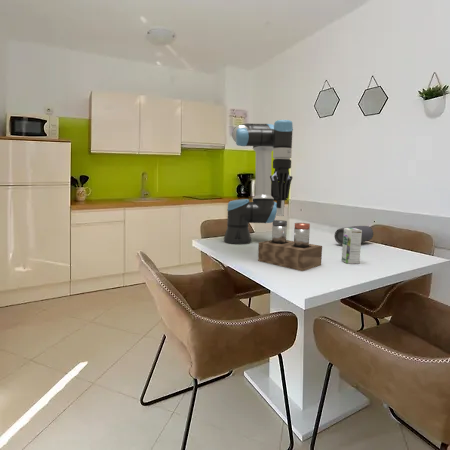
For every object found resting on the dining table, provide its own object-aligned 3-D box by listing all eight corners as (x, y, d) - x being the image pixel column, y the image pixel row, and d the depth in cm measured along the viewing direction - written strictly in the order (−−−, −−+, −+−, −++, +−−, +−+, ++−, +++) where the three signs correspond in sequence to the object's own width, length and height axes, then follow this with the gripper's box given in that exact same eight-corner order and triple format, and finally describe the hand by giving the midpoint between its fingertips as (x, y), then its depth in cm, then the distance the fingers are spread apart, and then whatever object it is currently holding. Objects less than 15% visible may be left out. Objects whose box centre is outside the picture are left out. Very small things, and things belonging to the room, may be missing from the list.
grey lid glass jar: (269, 243, 148) (269, 220, 146) (277, 242, 152) (278, 219, 151) (280, 246, 144) (281, 222, 142) (288, 244, 148) (289, 221, 146)
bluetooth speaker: (359, 241, 199) (360, 224, 198) (373, 243, 191) (375, 226, 190) (332, 244, 187) (333, 226, 185) (347, 247, 179) (348, 228, 178)
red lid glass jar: (290, 247, 140) (291, 223, 139) (298, 246, 144) (299, 222, 143) (303, 250, 136) (304, 225, 134) (311, 248, 140) (312, 223, 139)
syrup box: (340, 260, 150) (343, 227, 148) (354, 260, 151) (356, 227, 149) (346, 263, 145) (348, 229, 143) (360, 263, 145) (362, 229, 143)
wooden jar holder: (258, 260, 148) (258, 242, 146) (277, 255, 157) (278, 238, 156) (302, 271, 132) (303, 250, 131) (321, 264, 142) (322, 245, 141)
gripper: (280, 157, 136) (278, 217, 139) (298, 159, 145) (296, 215, 148) (265, 158, 141) (263, 215, 144) (283, 160, 150) (281, 214, 153)
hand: (280, 215), depth 146 cm, fingers closed
